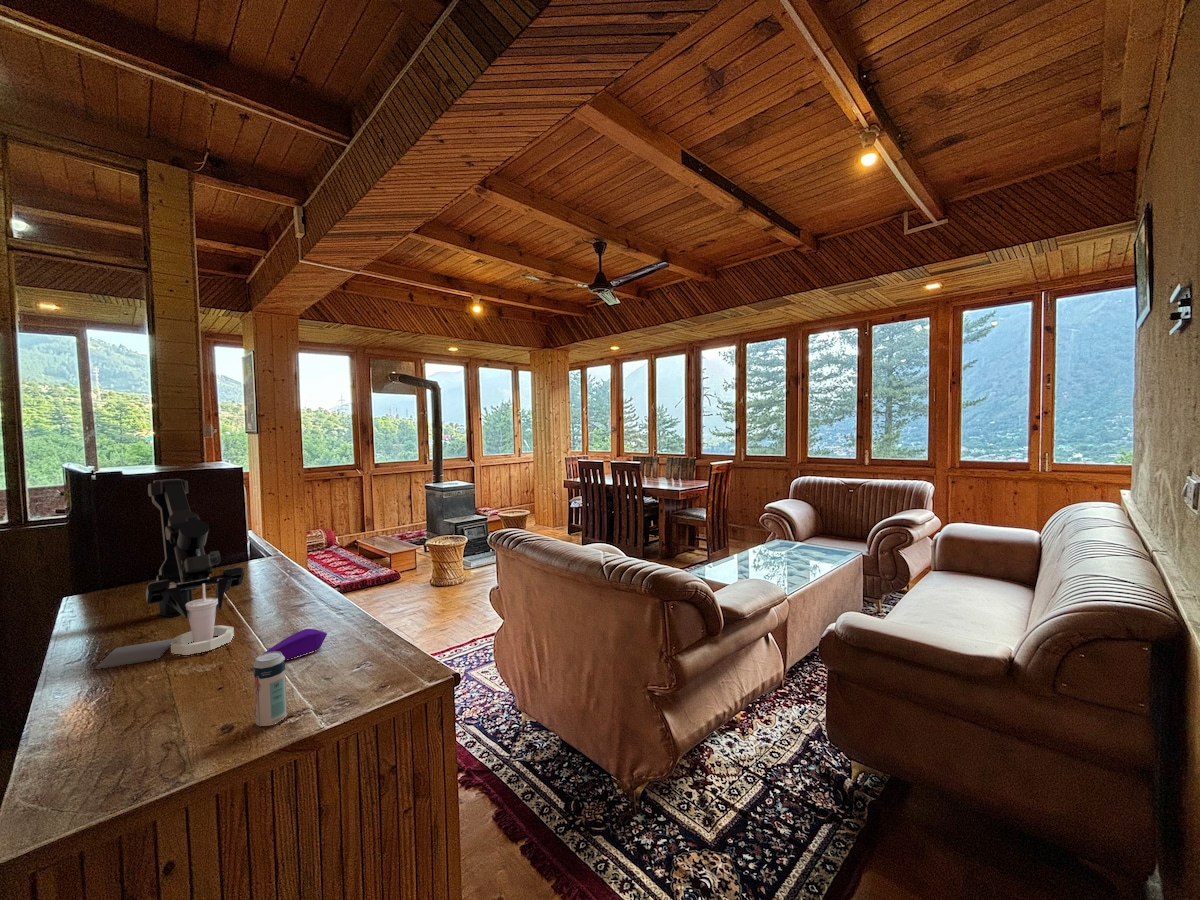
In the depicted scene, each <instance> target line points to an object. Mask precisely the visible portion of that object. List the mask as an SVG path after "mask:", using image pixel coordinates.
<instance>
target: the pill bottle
mask: <svg viewBox="0 0 1200 900" xmlns="http://www.w3.org/2000/svg"><path fill="white" fill-rule="evenodd" d="M264 653H265V652H264ZM252 666H253V667H252V668H253V687H254V688H253V689H254V690H253V691H254V709H255V711H254V712H255V714H254V715H255V725H256V726H257V725H258V727H261V726H266V725H270V724H275V723H277V722H279V721H281V720H282V721H283V720H285V719H286V718H285V717H287V716H288V702H287V684H286V683H287V682H286V681H287V680H286V679H287V678H286V661H285V657H284V656H283V655H282V653H281V652H277V651H274V652H268V653H265V654H263V653H262V654H259V655H258V656H257V657H256V658H255V660H254V662H253V664H252ZM284 718H285V719H284ZM282 721H281V722H282Z"/></svg>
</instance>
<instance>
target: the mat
mask: <svg viewBox="0 0 1200 900" xmlns="http://www.w3.org/2000/svg"><path fill="white" fill-rule="evenodd" d="M174 639H175V638H169V639H163V640H158V641H150V642H144V643H137V644H132V645H125V646H120V647H119V646H118V647H115V648H114V649H113V650H112V651H111V652H110V653H109V654H108V655H107V656H106V657H104V659H103V660H100V662H99V663H98V664H97V665H96V666H95V667H94V668H95V669H98V670H102V669H101V668H103V669H109V668H115V667H120V665H121V666H126V664H127V665H131V664H136V663H137V664H138V663H143V662H149V661H150V662H151V661H155V660H154V659H156V660H159V659H158V658H160V657H161V656H162V657H163V655H164V654H165V653H166V652H167V651H168V650H169V649H170V648H171V646H170V645H171V643H172V641H173V640H174ZM166 650H167V651H166ZM165 651H166V652H165ZM164 652H165V653H164ZM163 653H164V654H163ZM162 657H161V658H162ZM161 658H160V659H161ZM108 667H109V668H108Z"/></svg>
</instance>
